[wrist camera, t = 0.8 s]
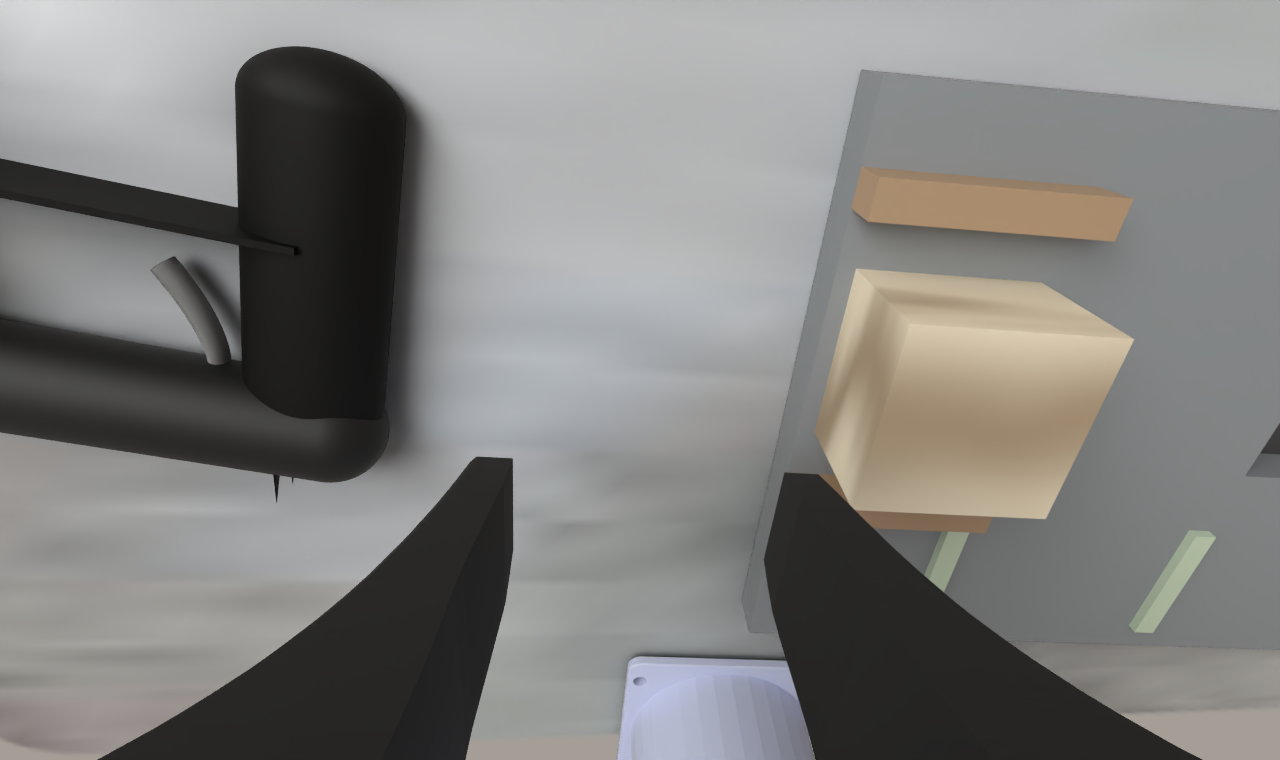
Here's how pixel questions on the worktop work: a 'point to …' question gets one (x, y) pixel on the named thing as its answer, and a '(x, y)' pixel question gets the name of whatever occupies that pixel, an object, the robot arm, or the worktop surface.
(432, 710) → the robot arm
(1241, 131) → the slate board
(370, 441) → the door handle
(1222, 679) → the worktop surface
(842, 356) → the birch block
